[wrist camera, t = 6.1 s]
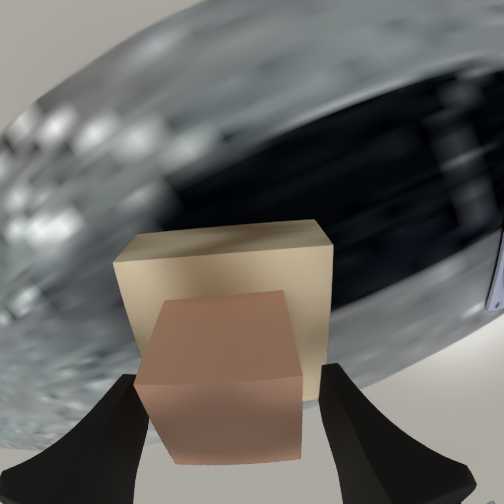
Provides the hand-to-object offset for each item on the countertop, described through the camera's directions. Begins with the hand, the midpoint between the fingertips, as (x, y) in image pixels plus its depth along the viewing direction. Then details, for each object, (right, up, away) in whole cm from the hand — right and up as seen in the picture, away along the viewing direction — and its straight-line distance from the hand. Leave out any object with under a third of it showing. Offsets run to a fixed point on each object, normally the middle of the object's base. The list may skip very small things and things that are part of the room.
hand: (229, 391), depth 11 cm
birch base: (0, +2, +6) cm, 6 cm away
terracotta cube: (0, +1, +3) cm, 3 cm away
